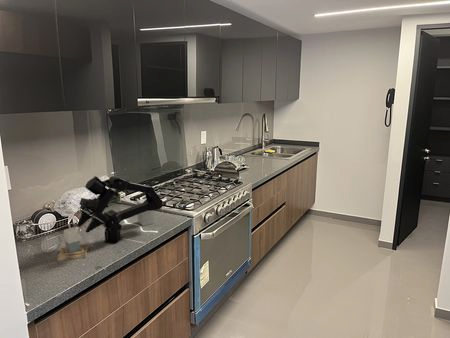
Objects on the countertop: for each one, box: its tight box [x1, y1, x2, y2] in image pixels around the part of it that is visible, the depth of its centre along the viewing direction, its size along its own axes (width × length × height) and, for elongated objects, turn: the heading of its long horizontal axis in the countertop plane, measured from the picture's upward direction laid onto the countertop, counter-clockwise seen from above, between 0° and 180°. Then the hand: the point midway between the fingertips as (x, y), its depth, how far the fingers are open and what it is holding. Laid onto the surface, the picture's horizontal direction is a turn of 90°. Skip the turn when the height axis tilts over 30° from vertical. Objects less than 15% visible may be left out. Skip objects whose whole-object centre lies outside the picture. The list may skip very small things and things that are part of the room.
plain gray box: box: [63, 226, 81, 253], centre depth 150 cm, size 4×4×10 cm
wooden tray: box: [57, 243, 89, 262], centre depth 151 cm, size 11×11×2 cm
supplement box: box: [136, 198, 156, 227], centre depth 185 cm, size 7×7×13 cm
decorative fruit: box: [74, 210, 81, 219], centre depth 184 cm, size 9×8×10 cm
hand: (82, 229), depth 152 cm, fingers open, 9 cm apart
